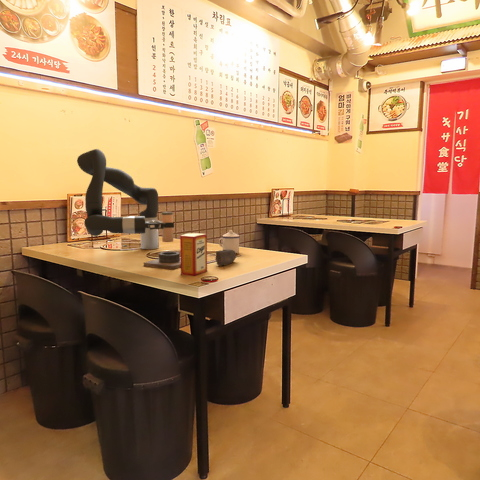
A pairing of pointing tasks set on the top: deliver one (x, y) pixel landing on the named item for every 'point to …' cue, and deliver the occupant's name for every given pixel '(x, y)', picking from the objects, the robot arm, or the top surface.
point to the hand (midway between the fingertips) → (173, 224)
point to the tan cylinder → (167, 232)
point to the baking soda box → (193, 253)
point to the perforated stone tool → (225, 257)
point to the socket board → (163, 265)
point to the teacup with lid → (230, 241)
